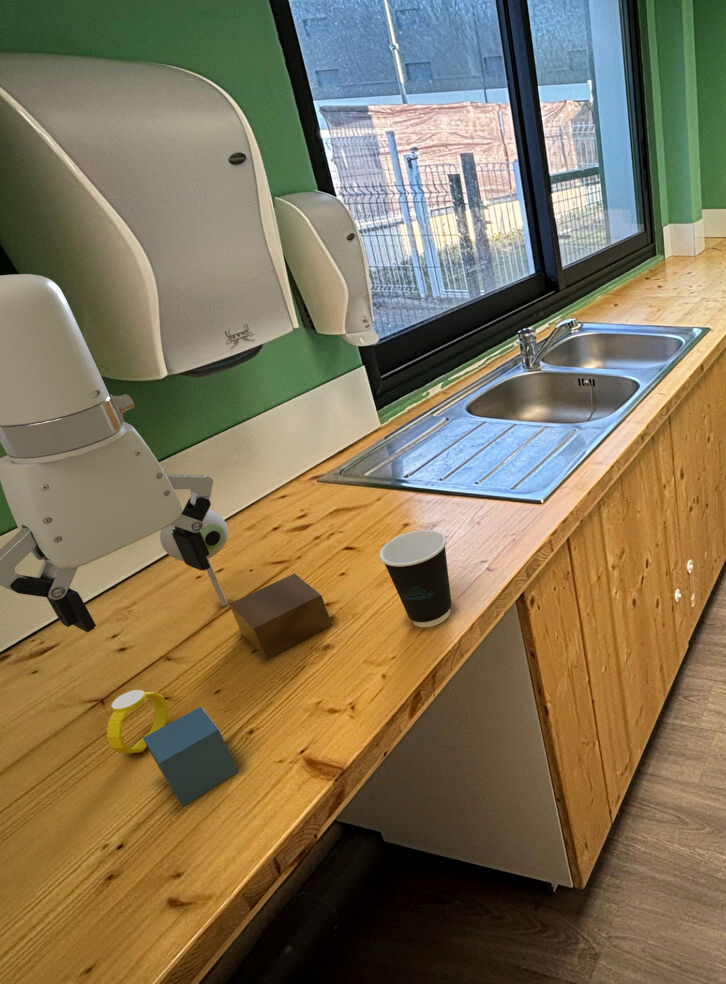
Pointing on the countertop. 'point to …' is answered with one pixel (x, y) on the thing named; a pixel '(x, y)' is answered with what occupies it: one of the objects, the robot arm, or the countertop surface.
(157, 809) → the countertop surface
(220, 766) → the top block
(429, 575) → the dixie cup
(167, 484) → the robot arm
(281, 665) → the countertop surface
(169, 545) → the lollipop
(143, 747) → the watch
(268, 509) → the countertop surface
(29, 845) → the countertop surface
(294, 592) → the base block
